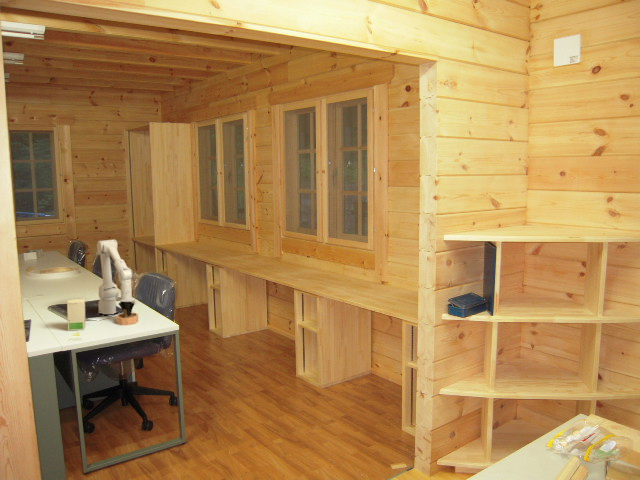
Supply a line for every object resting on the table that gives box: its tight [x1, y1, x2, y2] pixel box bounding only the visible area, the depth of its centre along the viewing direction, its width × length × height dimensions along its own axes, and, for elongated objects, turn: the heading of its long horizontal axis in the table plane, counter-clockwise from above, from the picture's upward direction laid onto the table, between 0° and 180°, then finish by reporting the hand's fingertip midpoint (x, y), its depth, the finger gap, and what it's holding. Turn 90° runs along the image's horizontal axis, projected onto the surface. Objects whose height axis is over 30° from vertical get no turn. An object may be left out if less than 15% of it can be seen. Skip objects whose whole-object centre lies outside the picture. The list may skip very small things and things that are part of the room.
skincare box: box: [66, 298, 86, 332], centre depth 290 cm, size 8×7×16 cm
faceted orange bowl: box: [115, 312, 139, 326], centre depth 303 cm, size 11×11×4 cm
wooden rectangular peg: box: [122, 308, 131, 318], centre depth 303 cm, size 2×4×7 cm, turn 154°
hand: (127, 314), depth 303 cm, fingers closed on wooden rectangular peg, 2 cm apart
